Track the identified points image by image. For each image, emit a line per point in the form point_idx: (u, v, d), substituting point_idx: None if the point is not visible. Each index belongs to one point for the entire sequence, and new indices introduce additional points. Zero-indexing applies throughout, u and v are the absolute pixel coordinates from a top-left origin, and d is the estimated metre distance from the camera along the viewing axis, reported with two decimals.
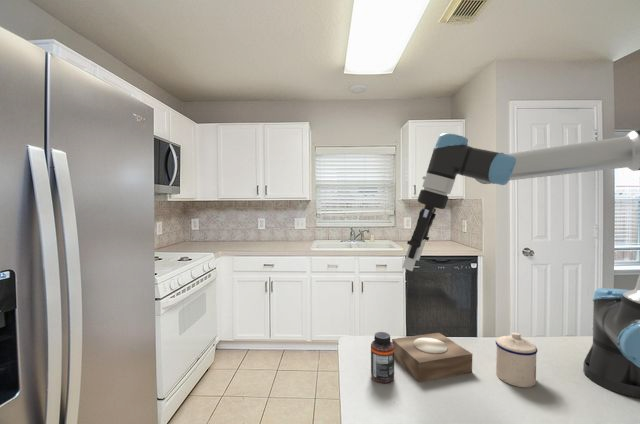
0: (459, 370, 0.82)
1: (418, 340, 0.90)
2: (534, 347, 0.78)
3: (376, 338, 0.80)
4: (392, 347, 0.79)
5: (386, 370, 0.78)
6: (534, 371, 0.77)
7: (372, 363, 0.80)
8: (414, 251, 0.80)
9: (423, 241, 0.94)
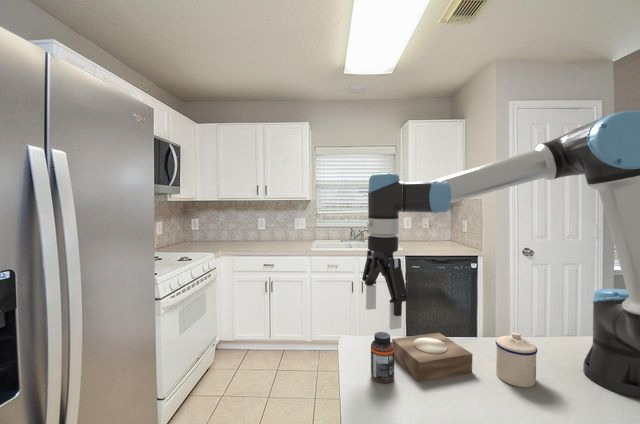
0: (459, 370, 0.82)
1: (418, 340, 0.90)
2: (534, 347, 0.78)
3: (376, 338, 0.80)
4: (392, 347, 0.79)
5: (386, 370, 0.78)
6: (534, 371, 0.77)
7: (372, 363, 0.80)
8: (400, 307, 0.72)
9: (374, 287, 0.87)
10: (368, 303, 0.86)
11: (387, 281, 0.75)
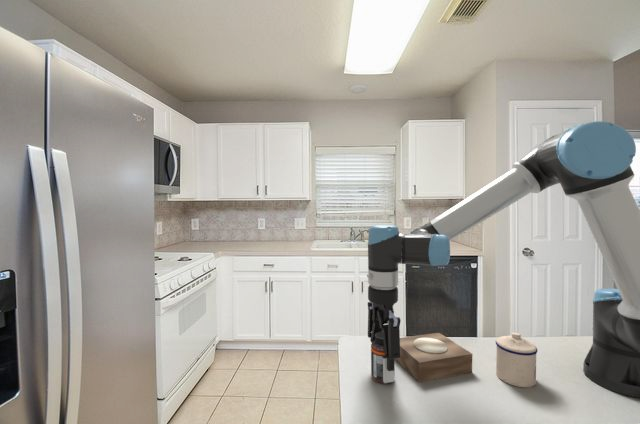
0: (459, 370, 0.82)
1: (418, 340, 0.90)
2: (534, 347, 0.78)
3: (376, 338, 0.80)
4: None
5: None
6: (534, 371, 0.77)
7: (372, 363, 0.80)
8: (393, 362, 0.76)
9: None
10: None
11: (383, 335, 0.78)
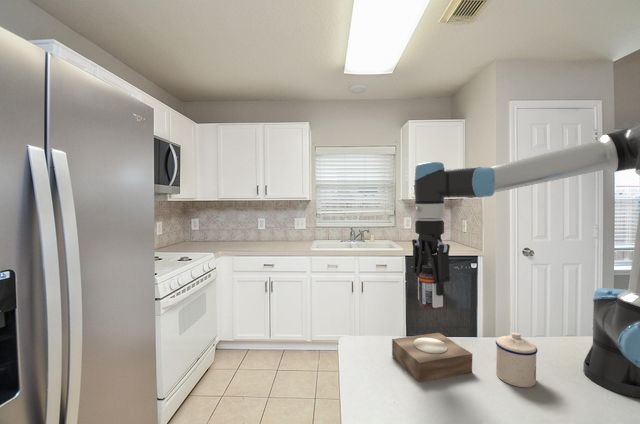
0: (459, 370, 0.82)
1: (418, 340, 0.90)
2: (534, 347, 0.78)
3: (424, 268, 0.86)
4: None
5: None
6: (534, 371, 0.77)
7: (421, 292, 0.86)
8: (442, 287, 0.82)
9: None
10: None
11: (432, 263, 0.83)
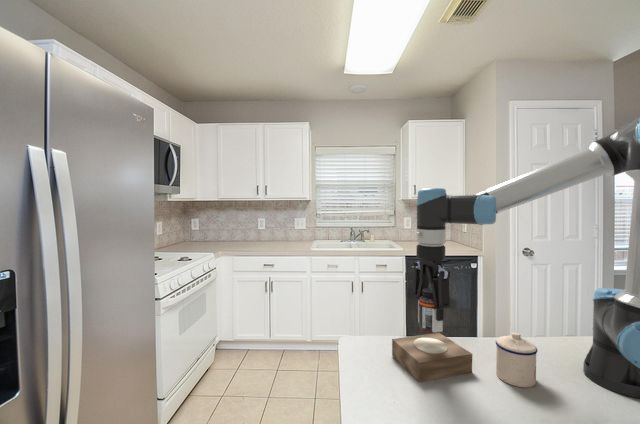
0: (459, 370, 0.82)
1: (418, 340, 0.90)
2: (534, 347, 0.78)
3: (425, 292, 0.86)
4: None
5: None
6: (534, 371, 0.77)
7: (421, 316, 0.87)
8: (442, 313, 0.83)
9: None
10: None
11: (433, 289, 0.84)
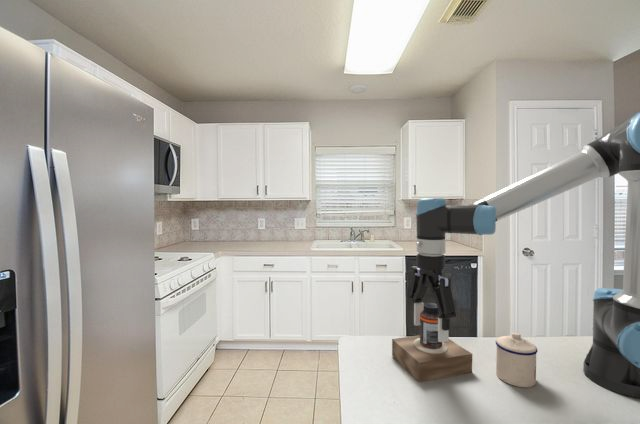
0: (459, 370, 0.82)
1: (418, 340, 0.90)
2: (534, 347, 0.78)
3: (426, 308, 0.86)
4: None
5: (436, 337, 0.85)
6: (534, 371, 0.77)
7: (422, 331, 0.87)
8: (448, 322, 0.81)
9: (422, 304, 0.93)
10: (416, 319, 0.93)
11: (436, 298, 0.83)
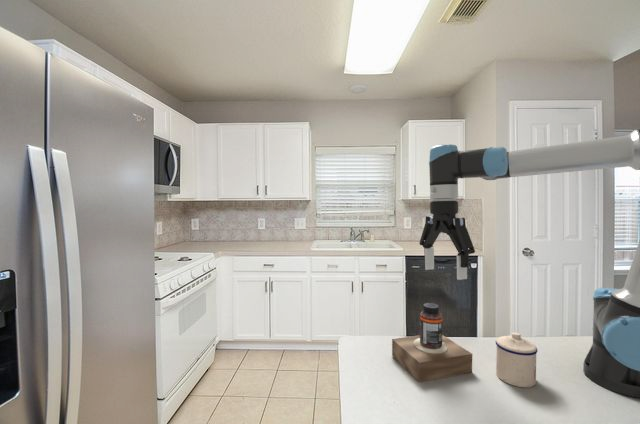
0: (459, 370, 0.82)
1: (418, 340, 0.90)
2: (534, 347, 0.78)
3: (426, 308, 0.86)
4: (441, 316, 0.86)
5: (436, 337, 0.85)
6: (534, 371, 0.77)
7: (422, 331, 0.87)
8: (467, 259, 0.83)
9: (432, 249, 0.97)
10: (427, 264, 0.96)
11: (452, 238, 0.85)
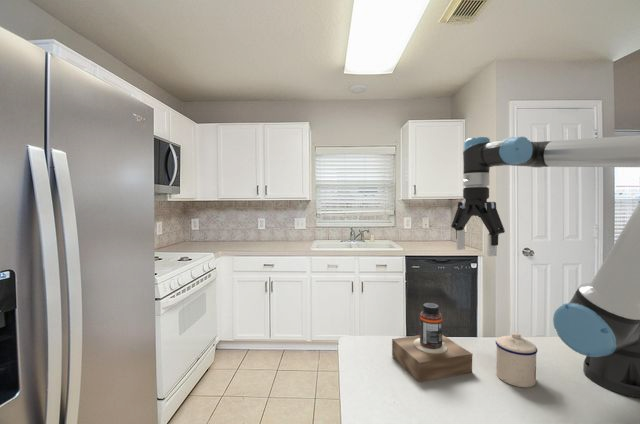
0: (459, 370, 0.82)
1: (418, 340, 0.90)
2: (534, 347, 0.78)
3: (426, 308, 0.86)
4: (441, 316, 0.86)
5: (436, 337, 0.85)
6: (534, 371, 0.77)
7: (422, 331, 0.87)
8: (497, 238, 0.94)
9: (463, 231, 1.08)
10: (459, 244, 1.08)
11: (484, 220, 0.97)
